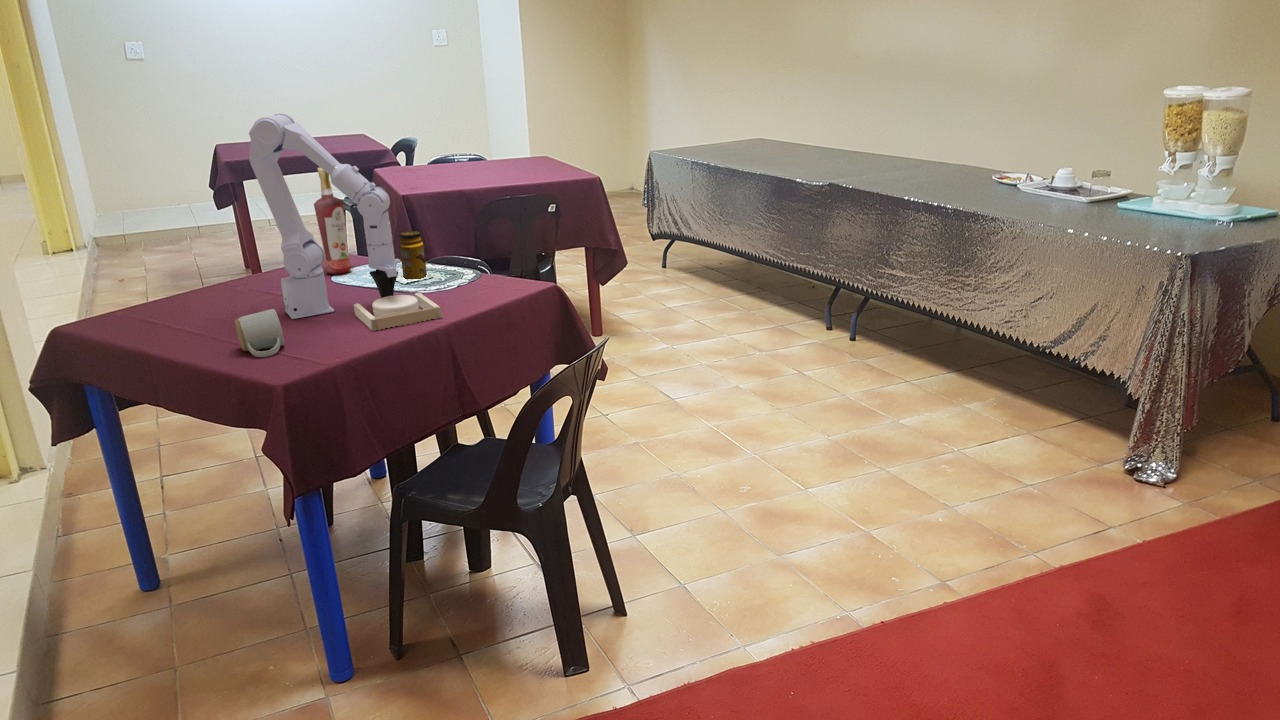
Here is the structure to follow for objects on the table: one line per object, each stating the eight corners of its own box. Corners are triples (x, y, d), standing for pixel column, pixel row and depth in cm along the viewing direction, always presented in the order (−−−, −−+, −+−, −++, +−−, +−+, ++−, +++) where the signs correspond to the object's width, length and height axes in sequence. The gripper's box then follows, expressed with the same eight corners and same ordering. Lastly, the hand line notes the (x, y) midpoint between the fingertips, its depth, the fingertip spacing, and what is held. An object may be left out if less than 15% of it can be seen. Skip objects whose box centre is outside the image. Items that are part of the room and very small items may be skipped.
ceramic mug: (238, 347, 186) (231, 311, 183) (279, 339, 190) (273, 304, 187) (247, 362, 177) (239, 325, 174) (290, 353, 181) (283, 317, 178)
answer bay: (373, 331, 192) (371, 320, 191) (355, 314, 204) (353, 304, 203) (442, 318, 199) (440, 307, 199) (420, 302, 211) (419, 292, 210)
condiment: (434, 278, 233) (428, 232, 228) (405, 285, 227) (398, 238, 223) (419, 273, 238) (413, 228, 233) (390, 280, 232) (384, 234, 228)
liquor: (338, 277, 236) (321, 170, 227) (319, 274, 240) (301, 168, 230) (359, 271, 242) (343, 166, 232) (340, 268, 246) (324, 164, 236)
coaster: (366, 322, 199) (364, 306, 198) (384, 308, 208) (382, 294, 207) (409, 322, 198) (407, 307, 196) (425, 308, 207) (423, 294, 206)
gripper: (406, 246, 198) (414, 305, 203) (387, 235, 210) (395, 291, 215) (375, 251, 195) (383, 310, 200) (357, 239, 207) (365, 296, 211)
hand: (387, 300), depth 207 cm, fingers closed
